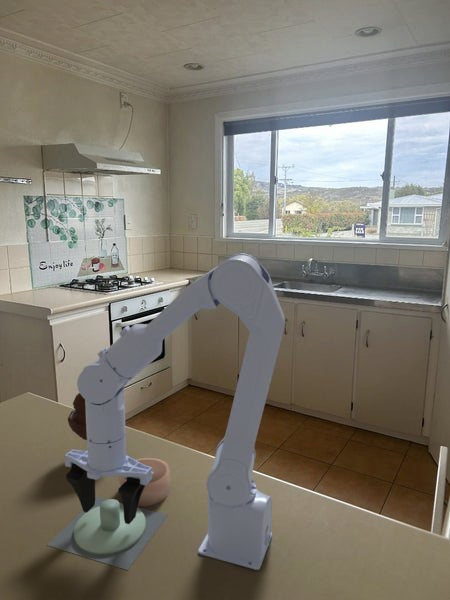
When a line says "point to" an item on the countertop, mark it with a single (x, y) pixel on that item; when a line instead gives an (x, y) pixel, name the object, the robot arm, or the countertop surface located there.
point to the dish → (154, 482)
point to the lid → (108, 529)
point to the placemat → (119, 559)
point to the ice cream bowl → (78, 417)
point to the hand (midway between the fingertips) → (109, 514)
